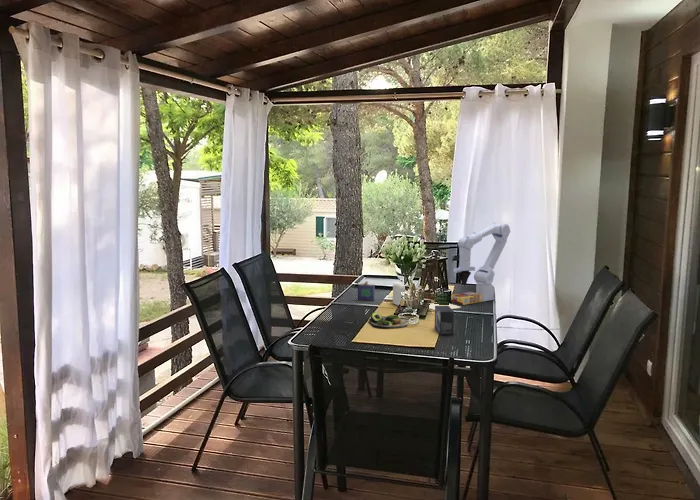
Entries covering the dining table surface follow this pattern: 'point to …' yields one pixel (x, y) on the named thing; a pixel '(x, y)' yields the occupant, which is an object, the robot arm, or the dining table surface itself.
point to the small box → (444, 320)
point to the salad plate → (387, 321)
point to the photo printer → (397, 292)
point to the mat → (432, 305)
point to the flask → (366, 292)
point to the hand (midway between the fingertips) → (463, 284)
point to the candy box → (466, 298)
